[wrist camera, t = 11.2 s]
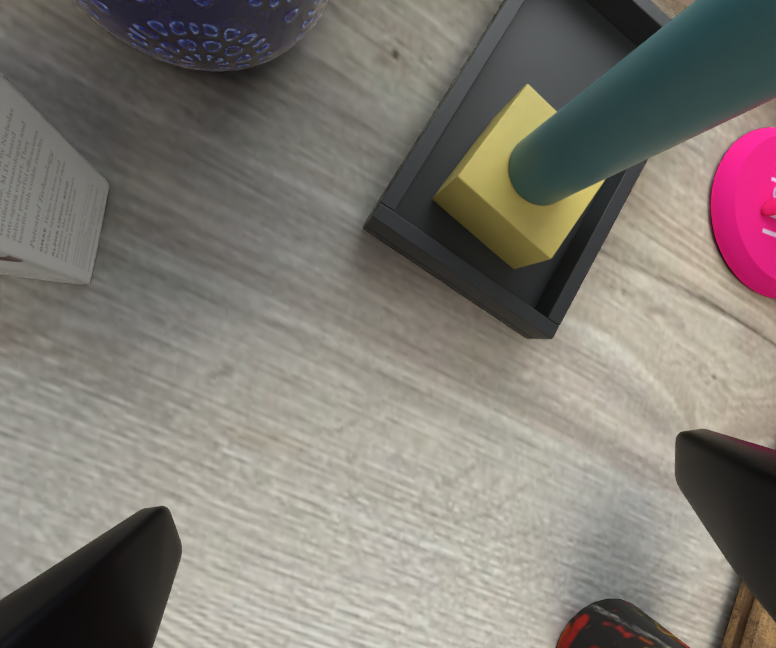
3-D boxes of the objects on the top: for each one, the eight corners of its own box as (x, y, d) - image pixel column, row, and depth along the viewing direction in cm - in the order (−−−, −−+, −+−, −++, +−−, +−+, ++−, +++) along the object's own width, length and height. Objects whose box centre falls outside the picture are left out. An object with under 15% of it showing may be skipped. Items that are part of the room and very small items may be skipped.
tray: (526, 339, 22) (552, 339, 20) (361, 228, 20) (371, 215, 18) (669, 74, 24) (706, 50, 22) (533, -46, 22) (559, -85, 20)
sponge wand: (513, 269, 21) (952, 149, 7) (431, 199, 20) (754, -89, 6) (569, 189, 22) (1059, -57, 8) (492, 117, 21) (896, -292, 7)
